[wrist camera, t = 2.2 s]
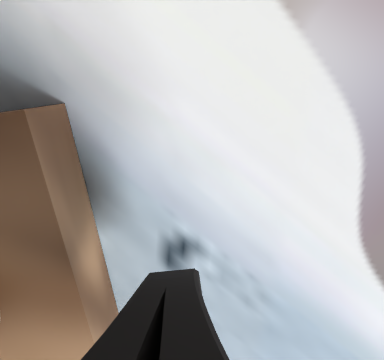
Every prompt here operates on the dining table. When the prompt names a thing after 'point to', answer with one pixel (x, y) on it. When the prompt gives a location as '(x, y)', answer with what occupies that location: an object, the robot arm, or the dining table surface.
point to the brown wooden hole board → (48, 243)
